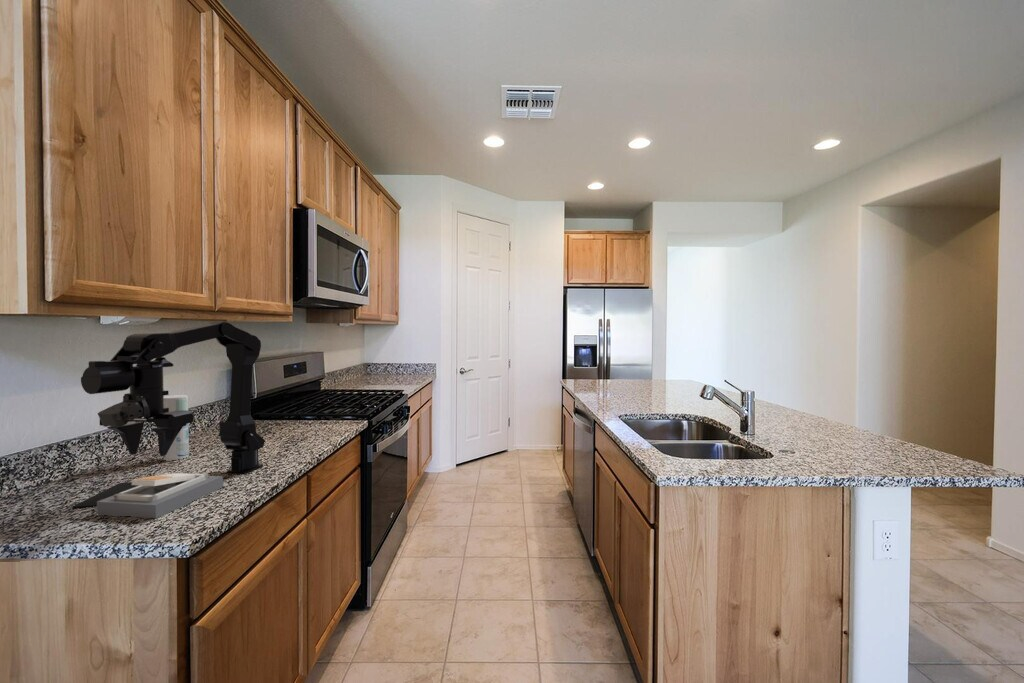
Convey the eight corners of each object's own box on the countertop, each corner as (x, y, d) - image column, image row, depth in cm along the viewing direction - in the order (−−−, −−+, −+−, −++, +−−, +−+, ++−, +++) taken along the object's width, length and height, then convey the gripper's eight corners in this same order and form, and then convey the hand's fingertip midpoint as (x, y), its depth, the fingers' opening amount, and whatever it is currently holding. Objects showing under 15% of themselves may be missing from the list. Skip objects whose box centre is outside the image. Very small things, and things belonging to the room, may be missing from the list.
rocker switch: (173, 478, 100) (174, 472, 100) (194, 479, 99) (195, 473, 99) (131, 484, 90) (132, 478, 90) (154, 486, 89) (155, 479, 90)
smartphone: (149, 480, 106) (106, 504, 92) (150, 483, 107) (106, 508, 92) (119, 482, 105) (70, 507, 90) (119, 485, 105) (70, 510, 90)
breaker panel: (172, 485, 104) (172, 469, 104) (223, 487, 102) (222, 471, 102) (97, 515, 87) (96, 496, 87) (156, 518, 85) (155, 499, 85)
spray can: (182, 460, 124) (180, 397, 124) (158, 462, 123) (156, 398, 122) (193, 454, 131) (191, 394, 130) (170, 455, 129) (168, 395, 129)
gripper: (69, 392, 84) (71, 464, 84) (145, 393, 82) (146, 468, 82) (126, 385, 95) (128, 449, 95) (195, 386, 93) (196, 452, 93)
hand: (148, 454), depth 91 cm, fingers open, 8 cm apart
